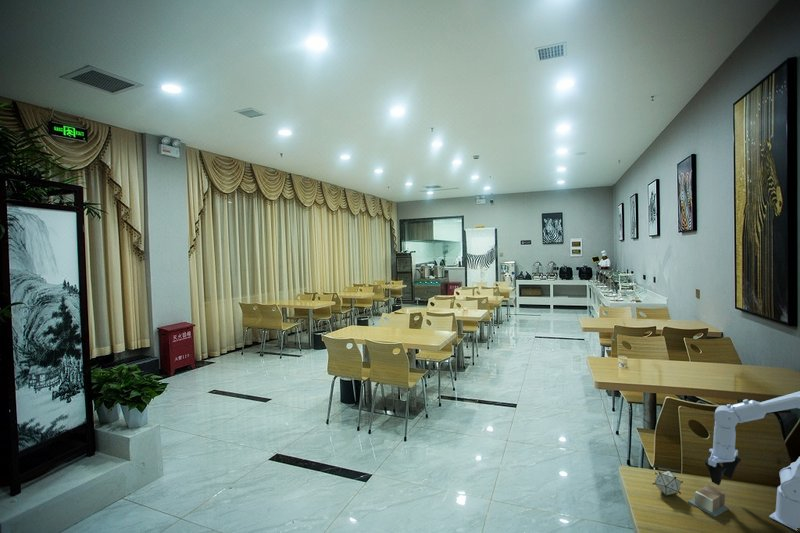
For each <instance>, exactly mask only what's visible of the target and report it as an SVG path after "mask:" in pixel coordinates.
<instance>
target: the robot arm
mask: <svg viewBox="0 0 800 533" xmlns="http://www.w3.org/2000/svg"><path fill="white" fill-rule="evenodd" d="M791 409H800V390H799V391H796V392H792V393H790V394H789V393H788V394H784V395H782V396H777V397H774V398H772V399H768V400H767V399H766V400H765V401H764V400H763V401H761V402H760V401H756V400H754V399H751V400H749V399H748V398H745V399H743V400H742V402H738V403H734V404H731V403H729V404H728V403H727V404H726V405H719V406H717V407H716V409H715V410H714V414H713V415H714V417H713V418H714V427H713V439H712V440H713V442H712V448H709V450H708V452H709V453H711V454H710V457H708V458H707V459H705V460H704V464H705V466H706V467H707V469H708V473H709V476H710V479H711V483H713V484H715V485H717V486H720V485H721V482H722V480H723V479H722V478H723V476H725V477H726V478H729V479H732V478H733V477H734V474H735V471H736V469H737V468H738V465H739V464H740V463H741V462H742V459H741V458H739V457H737V456H739V453H738V452H739V450H738V449H736V437H737V436H736V435H737V434H736V433H737V432H736V426H737V425H738V423H739V424H743V423H748V422H751V421H757V420H762V419H764V418H765V416H766V414H767V413H774V412H780V411H787V410H791ZM721 464H722V466H721ZM779 478H780V479H779V480H780V485H778V486H777V488H776V489H777V490H776V503H775V511H774V512H773V513H771V514H770V515H769V516H768V517H769V518H770V519H772V520H775V521H777V523H780V524H782V525H783V526H785V527H789V528H790V529H792V530H794V531H796V532H798V531H797V530H798V529H797V528H800V456H798V458H797V459H796V461H794V462H791V463H790V465H788V466H786V467H783V468H782V469H780V471H779Z"/></svg>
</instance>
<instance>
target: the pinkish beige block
mask: <svg viewBox="0 0 800 533" xmlns="http://www.w3.org/2000/svg"><path fill="white" fill-rule="evenodd" d="M694 498H695V504H697V505H699V506H701V507H703V508H704V509H706V510H708V511H710V512H713V511H714V510H716V509H718V508H719V507H721V506H723V505H724V506H725V502H726V493H725V492H724V491H723V490H720V489H718V488H715V487H713V486H712V485H710V484H707V485H705V486H703V487H702V488H699V489H698V490H696V491H694Z"/></svg>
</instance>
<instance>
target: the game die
mask: <svg viewBox="0 0 800 533" xmlns="http://www.w3.org/2000/svg"><path fill="white" fill-rule="evenodd" d="M654 474H655V475H656V476H655V478H654V479H655V480H654V482H652V483H651V484H652V485H655V486H656V487H657V488H658V489H659V491H661V492H662V493H663V494H664V497H665V499H666V498H668V496H670V495H673V494H675V495H677V494H679V495H682V492H680V489H681V484H683V483H684V481H683V480H680V479H678V477H677V476H676V475H675V474H673V472H672V471H671V468H670V467H669V468H668V470H665V471H663V472H660V470H659V471H658V473H657V472H654Z"/></svg>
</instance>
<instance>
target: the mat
mask: <svg viewBox="0 0 800 533" xmlns="http://www.w3.org/2000/svg"><path fill="white" fill-rule="evenodd" d="M688 503H689V504H691V505H692V506H694V507H696V508H698V509H700V510H701V511H704V512H705V513H707V514H708V515H710V516H712V517H713V518H716V517H718V516H719V515H721V514H724V512H726V511H728V510H729V507H728V506H726V505H725V504H724V505H723V506H721V507H719V508H718V509H716V510H714V511H713V512H710V511H708V510H706V509H704V508H703V507H701V506H699V505H697V504H695V497H693V498H691V499H689V500H688Z"/></svg>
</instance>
